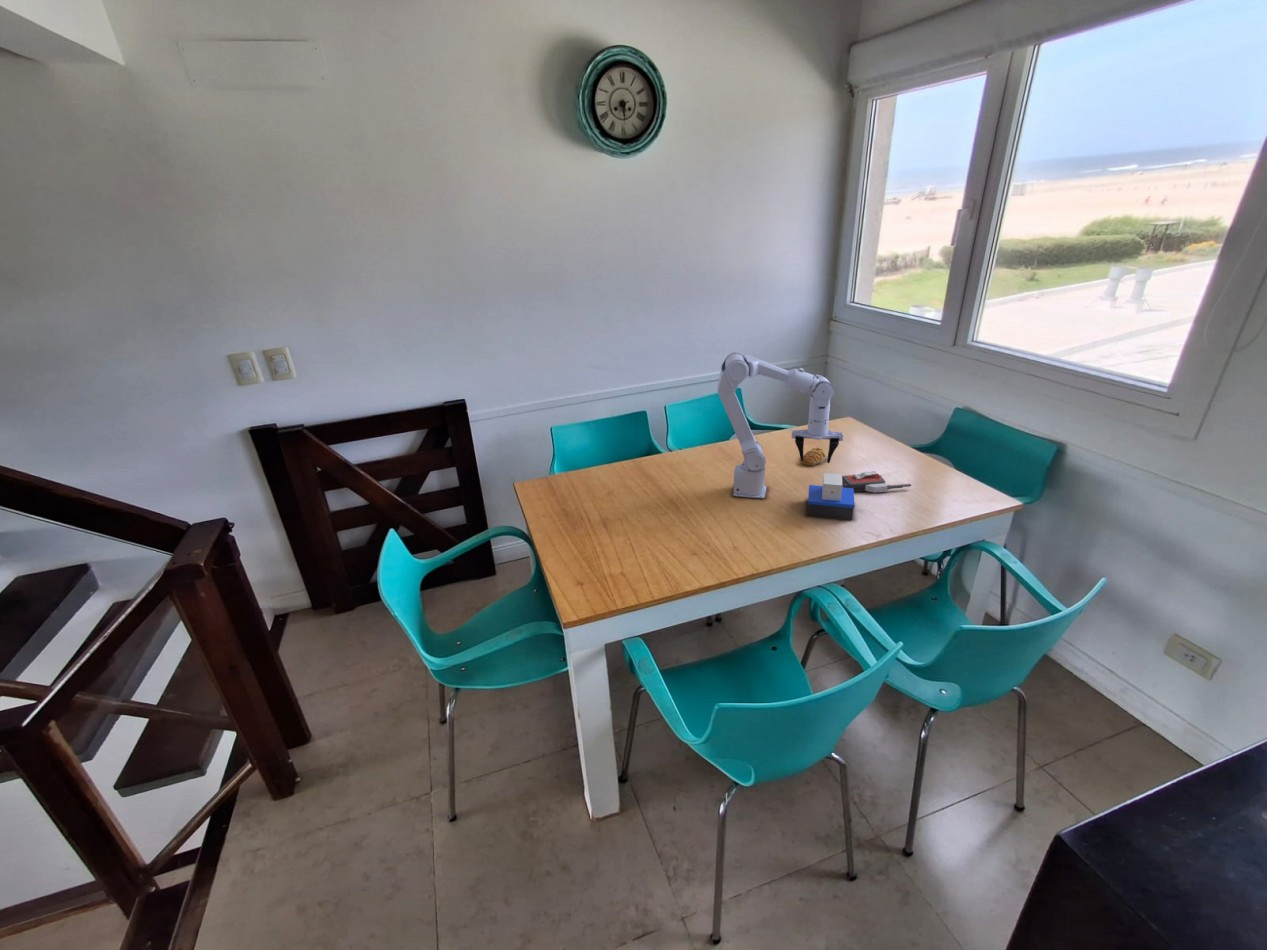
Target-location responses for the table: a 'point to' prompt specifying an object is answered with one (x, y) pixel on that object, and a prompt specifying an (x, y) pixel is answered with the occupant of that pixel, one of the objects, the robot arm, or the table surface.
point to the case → (832, 487)
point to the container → (830, 504)
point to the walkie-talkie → (868, 482)
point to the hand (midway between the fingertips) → (815, 460)
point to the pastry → (814, 456)
